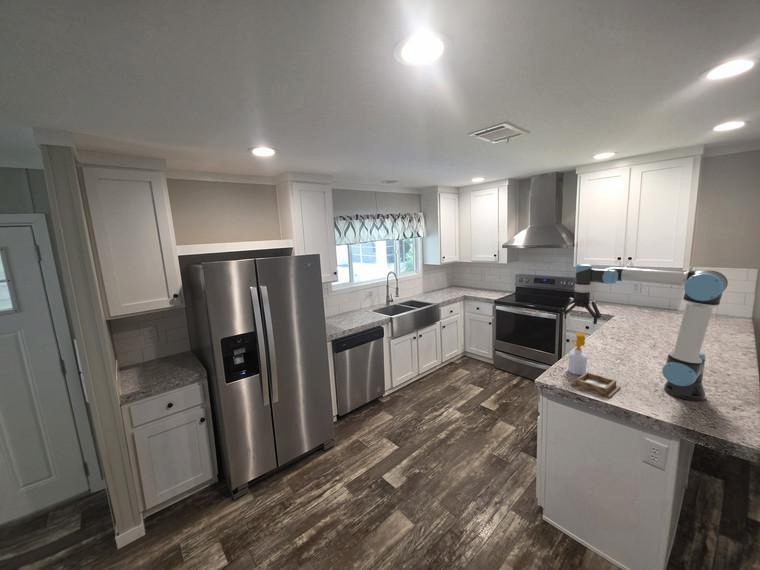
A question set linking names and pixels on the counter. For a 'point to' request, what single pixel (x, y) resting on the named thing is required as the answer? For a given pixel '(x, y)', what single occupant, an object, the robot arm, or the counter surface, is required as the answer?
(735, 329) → the counter surface
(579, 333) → the orange capped white bottle
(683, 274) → the robot arm
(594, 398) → the counter surface
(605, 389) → the picture frame
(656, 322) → the counter surface
